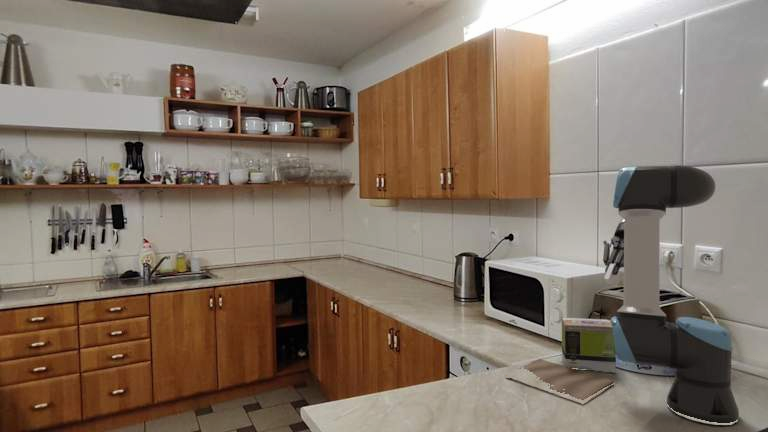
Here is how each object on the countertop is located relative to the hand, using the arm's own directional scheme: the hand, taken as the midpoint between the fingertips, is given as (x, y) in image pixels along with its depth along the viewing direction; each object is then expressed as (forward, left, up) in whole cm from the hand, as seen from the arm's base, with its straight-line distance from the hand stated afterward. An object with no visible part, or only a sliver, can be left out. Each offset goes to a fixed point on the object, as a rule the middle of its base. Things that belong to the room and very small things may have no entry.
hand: (607, 280), depth 157 cm
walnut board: (0, +32, -26) cm, 41 cm away
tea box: (0, +14, -26) cm, 30 cm away
